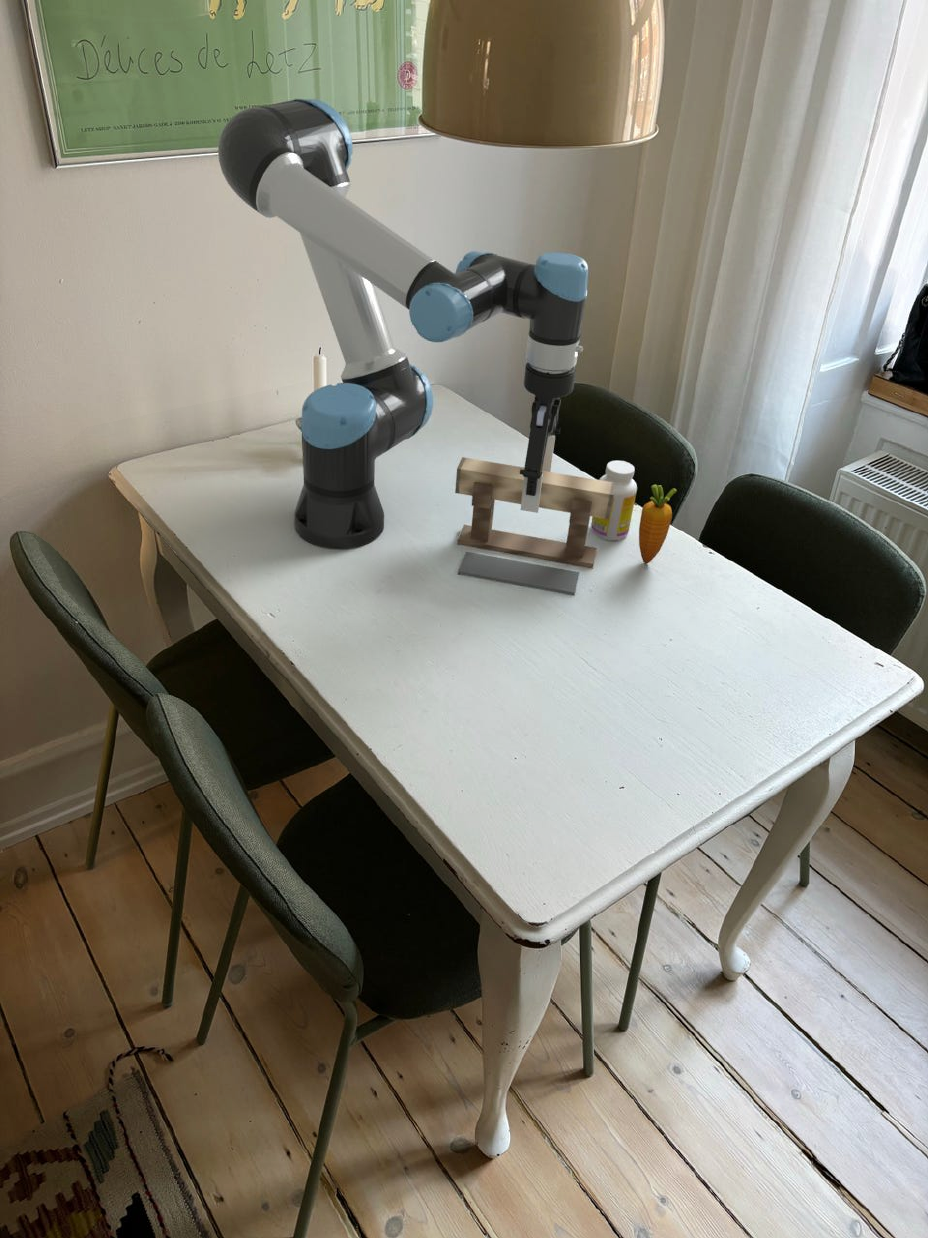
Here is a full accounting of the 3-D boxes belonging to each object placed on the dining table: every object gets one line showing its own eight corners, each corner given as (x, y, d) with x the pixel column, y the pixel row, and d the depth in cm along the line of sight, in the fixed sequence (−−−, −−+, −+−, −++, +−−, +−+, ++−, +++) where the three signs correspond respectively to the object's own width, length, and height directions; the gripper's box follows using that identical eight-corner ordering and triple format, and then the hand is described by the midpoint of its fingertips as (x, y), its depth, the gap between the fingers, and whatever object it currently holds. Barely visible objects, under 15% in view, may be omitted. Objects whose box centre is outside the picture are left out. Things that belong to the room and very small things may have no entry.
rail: (455, 492, 159) (457, 468, 156) (460, 481, 162) (462, 457, 159) (608, 519, 155) (613, 494, 153) (611, 507, 158) (615, 482, 156)
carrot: (664, 560, 164) (682, 482, 155) (655, 575, 161) (674, 496, 152) (636, 552, 166) (652, 474, 157) (627, 566, 162) (643, 487, 153)
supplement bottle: (627, 524, 173) (640, 459, 165) (628, 544, 168) (642, 478, 160) (589, 519, 173) (601, 455, 165) (589, 539, 168) (601, 474, 160)
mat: (457, 574, 157) (458, 571, 156) (465, 554, 162) (465, 551, 161) (574, 595, 154) (574, 592, 154) (578, 575, 159) (579, 571, 159)
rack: (456, 547, 163) (461, 481, 155) (464, 526, 168) (470, 462, 161) (592, 571, 160) (604, 506, 153) (596, 550, 165) (608, 485, 158)
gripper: (565, 401, 134) (547, 532, 147) (585, 338, 154) (569, 458, 166) (511, 393, 135) (499, 524, 148) (538, 331, 155) (525, 451, 167)
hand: (536, 489), depth 157 cm, fingers open, 13 cm apart
